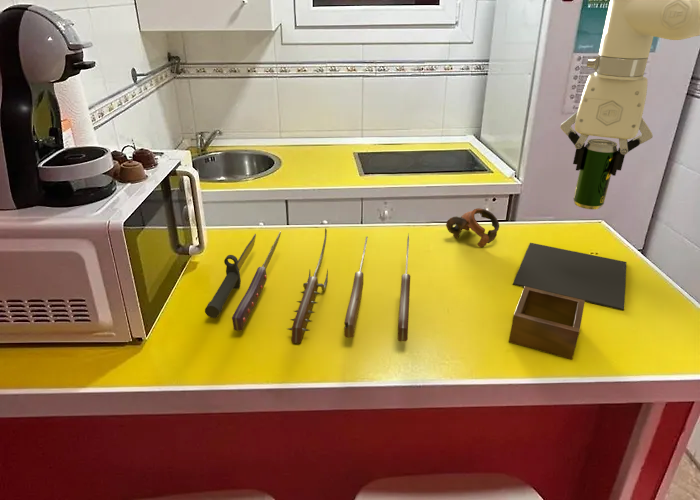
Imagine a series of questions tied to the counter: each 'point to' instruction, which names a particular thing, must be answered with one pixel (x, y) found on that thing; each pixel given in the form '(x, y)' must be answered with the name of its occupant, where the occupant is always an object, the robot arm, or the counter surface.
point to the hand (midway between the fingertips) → (595, 169)
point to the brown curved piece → (474, 225)
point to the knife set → (309, 295)
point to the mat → (574, 275)
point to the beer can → (595, 173)
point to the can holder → (547, 322)
